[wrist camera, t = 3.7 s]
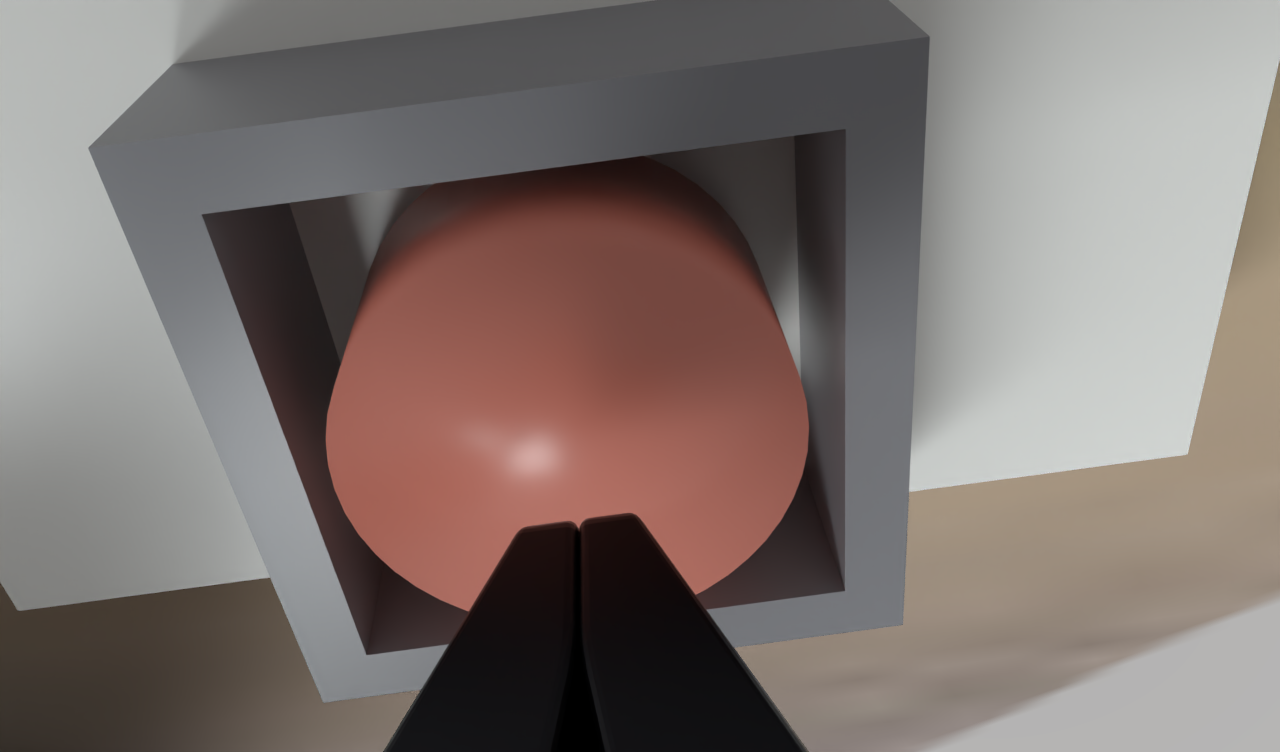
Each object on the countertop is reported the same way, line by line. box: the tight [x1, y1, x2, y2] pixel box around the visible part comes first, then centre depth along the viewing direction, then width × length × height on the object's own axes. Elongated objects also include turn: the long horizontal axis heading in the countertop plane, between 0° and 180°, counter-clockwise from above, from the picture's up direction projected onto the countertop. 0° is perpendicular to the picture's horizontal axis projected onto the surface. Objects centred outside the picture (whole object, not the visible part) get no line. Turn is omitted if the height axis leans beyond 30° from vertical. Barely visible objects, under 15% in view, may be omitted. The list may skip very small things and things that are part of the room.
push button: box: [326, 156, 809, 611], centre depth 9 cm, size 4×4×2 cm
